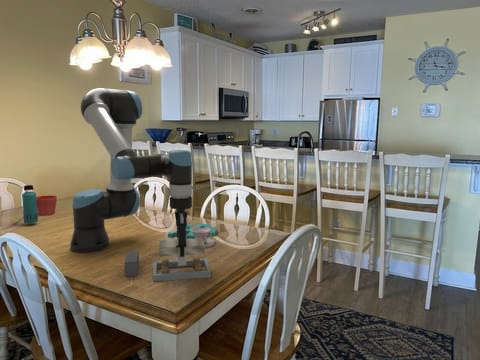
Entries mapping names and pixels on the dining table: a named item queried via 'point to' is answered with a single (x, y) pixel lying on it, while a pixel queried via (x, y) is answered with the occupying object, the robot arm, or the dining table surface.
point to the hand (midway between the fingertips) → (181, 260)
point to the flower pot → (46, 205)
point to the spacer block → (131, 263)
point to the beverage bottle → (29, 205)
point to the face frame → (166, 275)
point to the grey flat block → (170, 247)
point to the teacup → (203, 235)
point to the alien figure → (191, 235)
